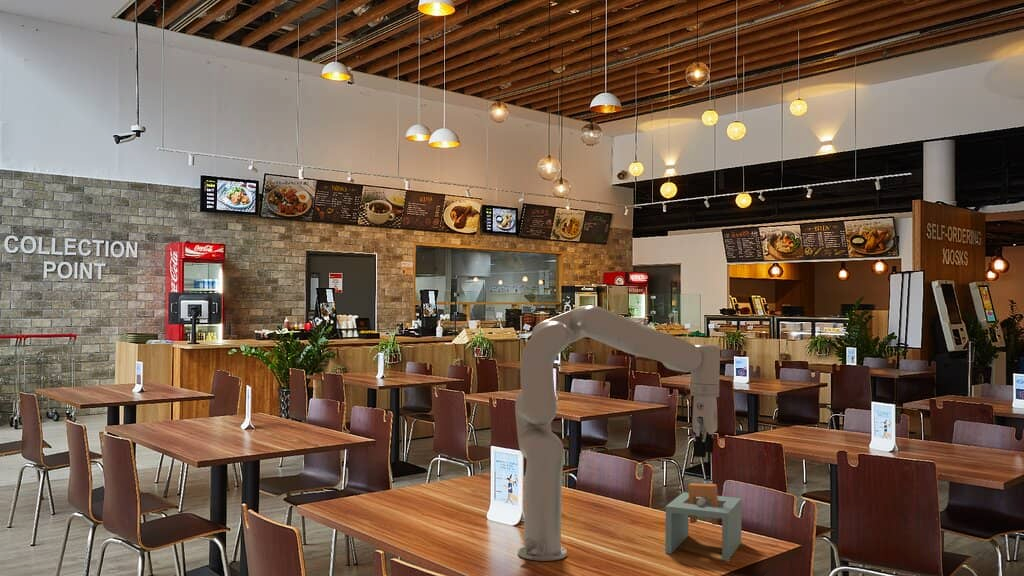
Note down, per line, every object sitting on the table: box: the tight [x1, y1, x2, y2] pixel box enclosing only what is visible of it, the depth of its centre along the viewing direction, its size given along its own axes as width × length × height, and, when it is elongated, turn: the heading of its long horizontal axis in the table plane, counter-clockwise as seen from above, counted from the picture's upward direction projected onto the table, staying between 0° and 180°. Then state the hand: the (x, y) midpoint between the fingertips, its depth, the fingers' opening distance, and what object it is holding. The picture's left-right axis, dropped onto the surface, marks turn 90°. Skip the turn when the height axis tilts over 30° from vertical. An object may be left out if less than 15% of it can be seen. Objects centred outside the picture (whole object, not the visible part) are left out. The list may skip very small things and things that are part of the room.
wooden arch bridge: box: [687, 482, 720, 526], centre depth 214 cm, size 7×3×10 cm, turn 64°
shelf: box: [664, 491, 742, 562], centre depth 214 cm, size 20×16×14 cm
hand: (703, 454), depth 214 cm, fingers open, 9 cm apart
